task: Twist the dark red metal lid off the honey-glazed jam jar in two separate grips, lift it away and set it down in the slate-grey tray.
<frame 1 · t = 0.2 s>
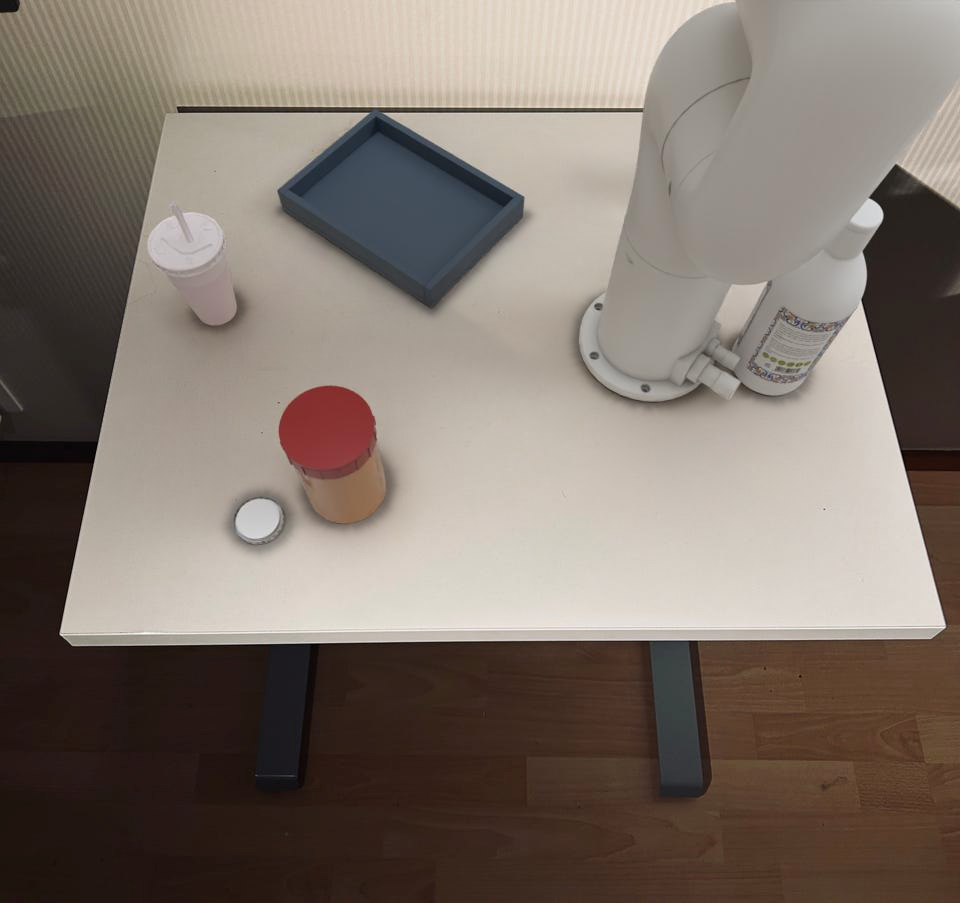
tray: (402, 213, 81), on the table
jar: (347, 487, 68), on the table
smoothie: (217, 310, 76), on the table
white grey disc: (260, 522, 66), on the table
bath foam: (766, 366, 74), on the table
lid: (327, 428, 58), point 11 cm above the table, screwed on, not yet turned
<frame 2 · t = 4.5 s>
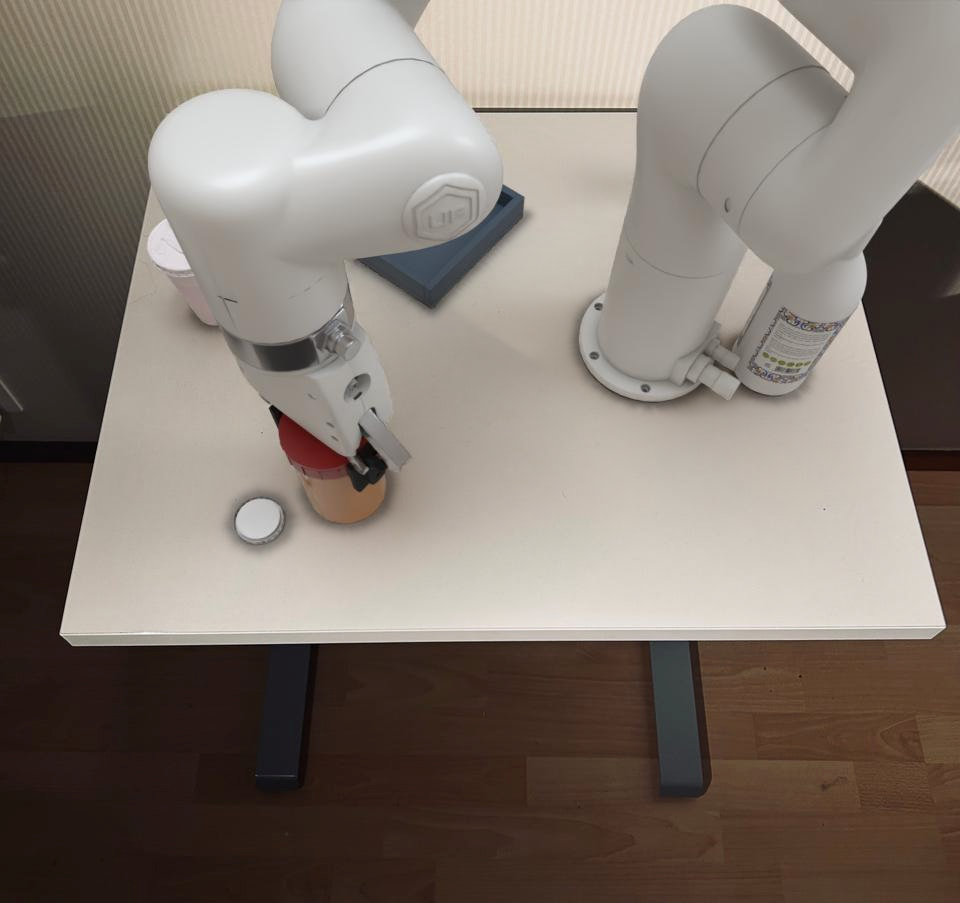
hand: (333, 447, 61), 8 cm above the table, tool pointing down, fingers closed on lid, 6 cm apart
lid: (326, 428, 58), point 11 cm above the table, screwed on, not yet turned, touching gripper
everything else where it was.
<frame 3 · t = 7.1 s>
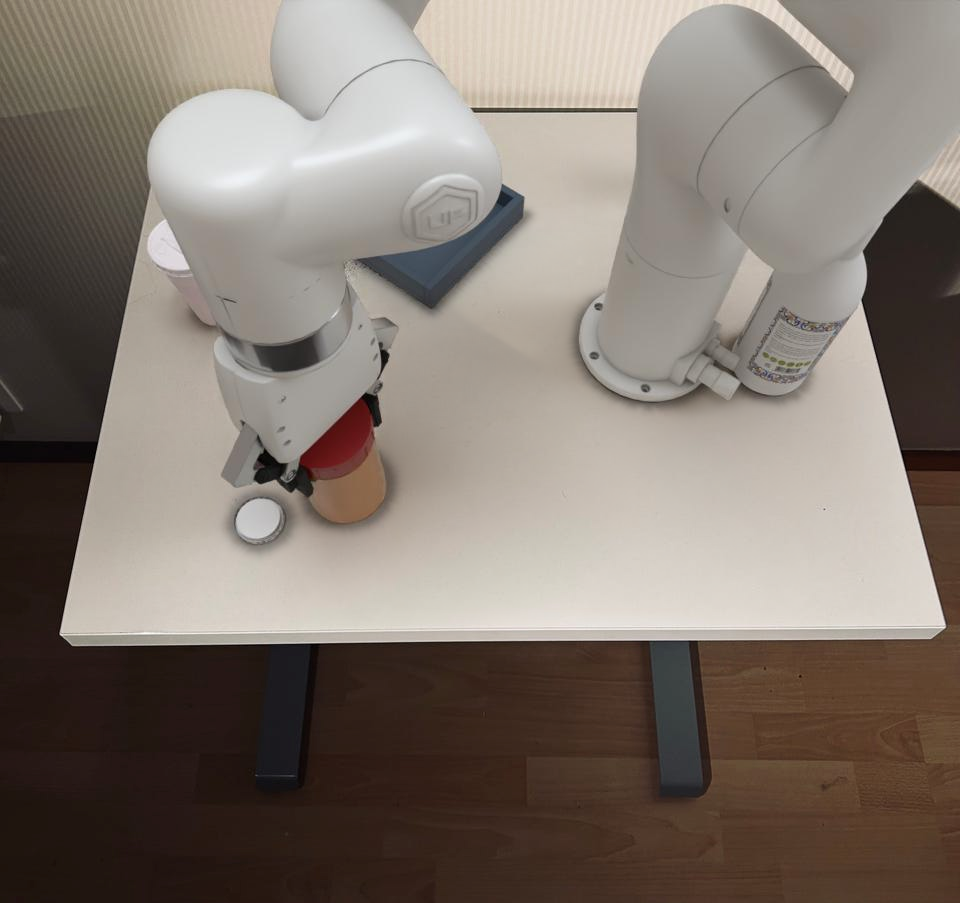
hand: (331, 448, 61), 8 cm above the table, tool pointing down, fingers closed on lid, 6 cm apart
jar: (347, 487, 68), on the table, touching gripper
lid: (324, 427, 58), point 11 cm above the table, turned 89° so far, risen 0.2 cm, still on its thread, touching gripper
everything else where it was.
when the fingers open (7 cm above the table, at t = 8.0 s): lid stays where it is, point 11 cm above the table.
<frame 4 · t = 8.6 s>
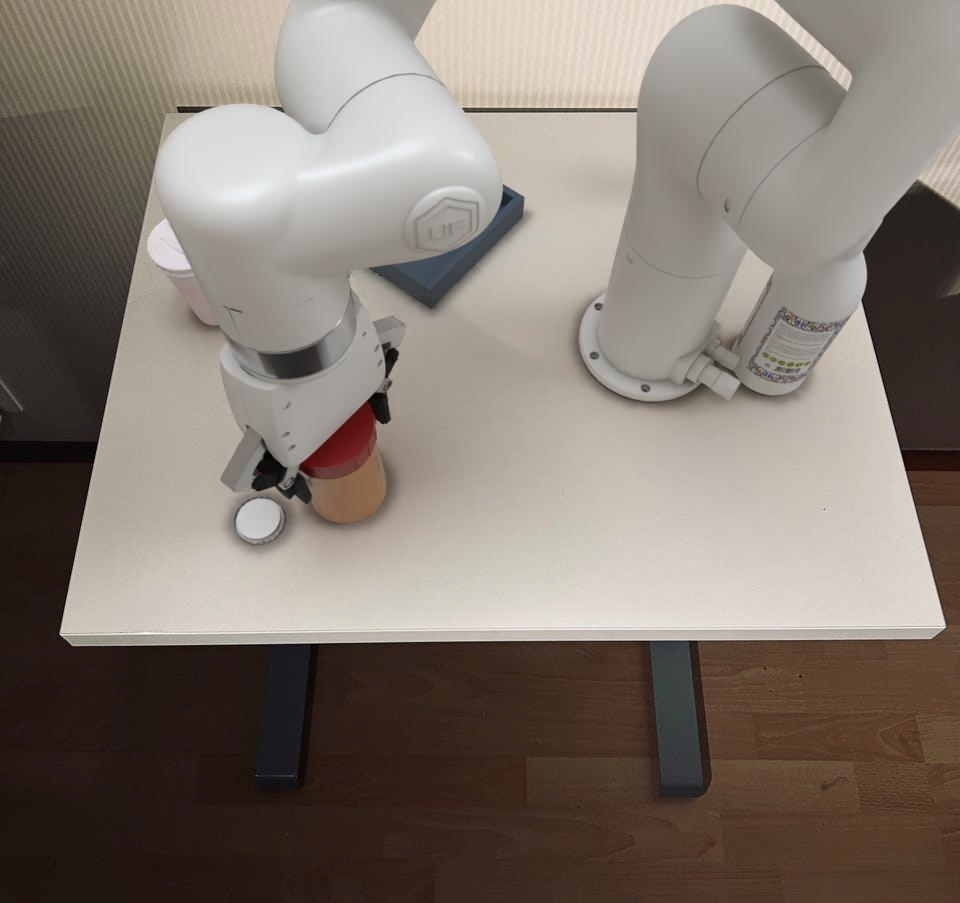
hand: (335, 450, 61), 7 cm above the table, tool pointing down, fingers open, 8 cm apart
jar: (347, 487, 68), on the table
lid: (327, 426, 58), point 11 cm above the table, turned 89° so far, risen 0.2 cm, still on its thread
everything else where it was.
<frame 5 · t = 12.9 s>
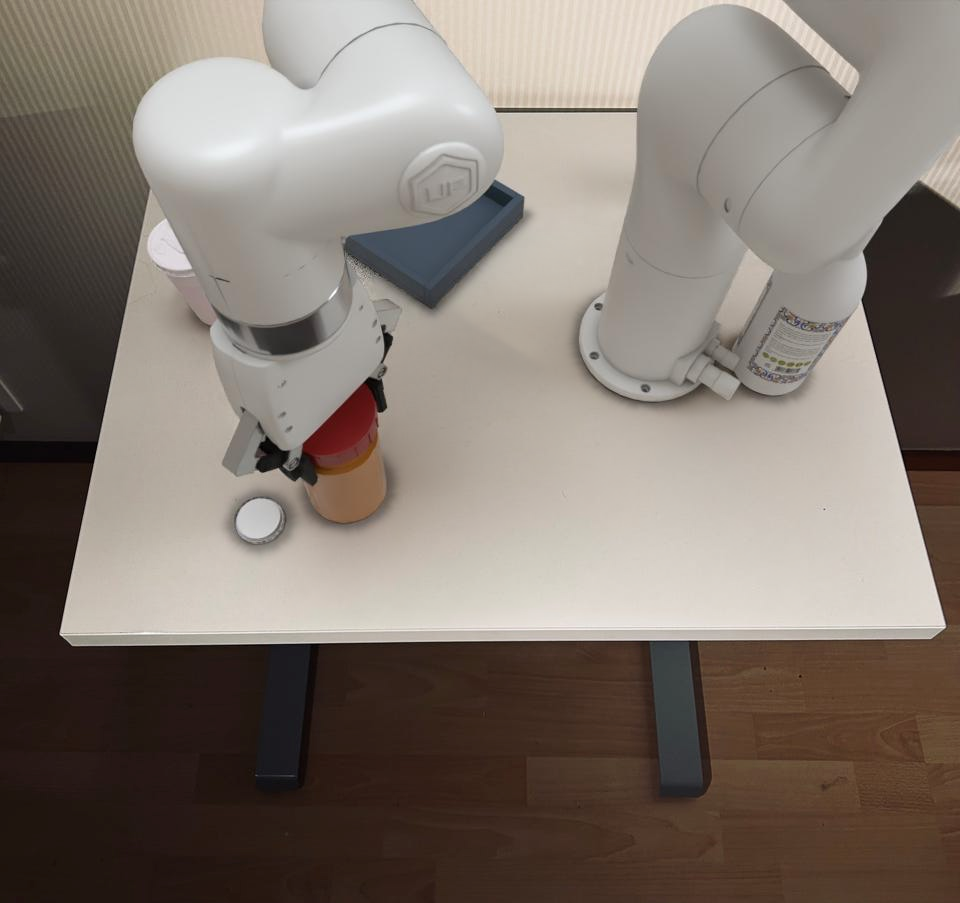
hand: (335, 435, 59), 9 cm above the table, tool pointing down, fingers closed on lid, 6 cm apart
jar: (347, 486, 67), on the table, touching gripper
lid: (327, 413, 56), point 13 cm above the table, off its thread, touching gripper
everything else where it was.
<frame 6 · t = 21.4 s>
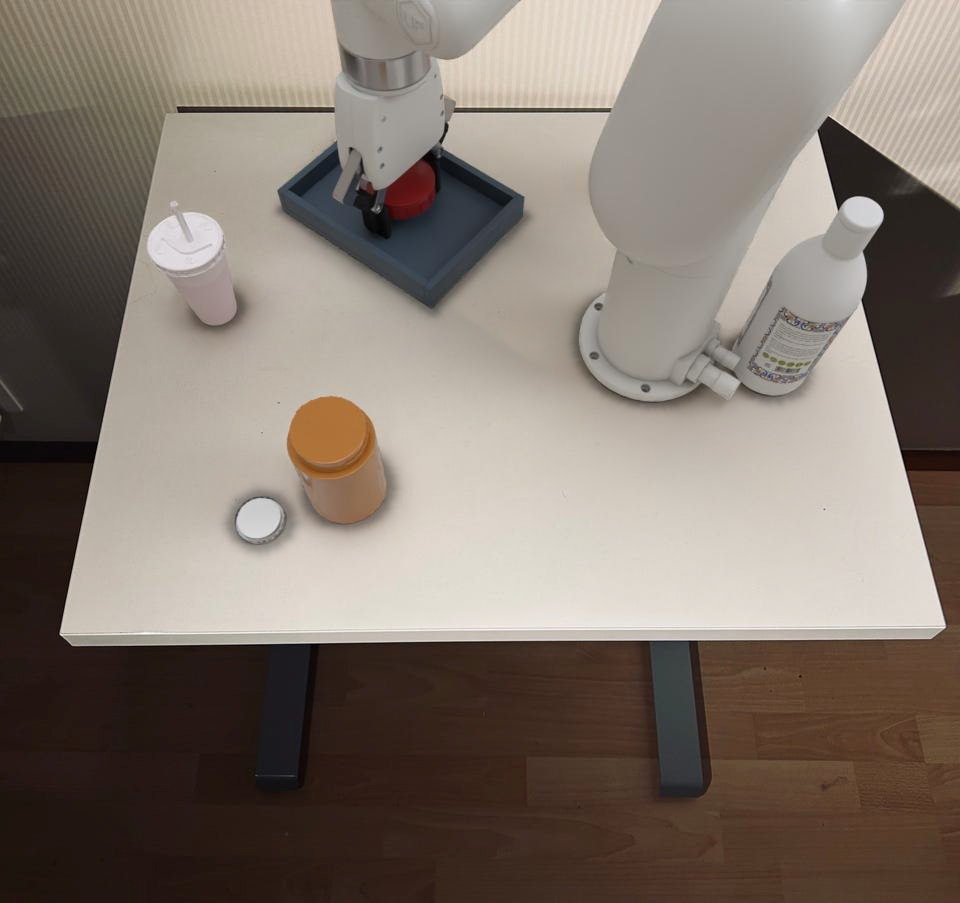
hand: (402, 206, 80), 1 cm above the table, tool pointing down, fingers closed on lid, 6 cm apart
jar: (347, 487, 68), on the table
lid: (399, 181, 77), point 4 cm above the table, off its thread, touching gripper
everything else where it was.
when the fingers open (2 cm above the table, at t = 31.6 s): lid drops 3 cm, resting on tray.
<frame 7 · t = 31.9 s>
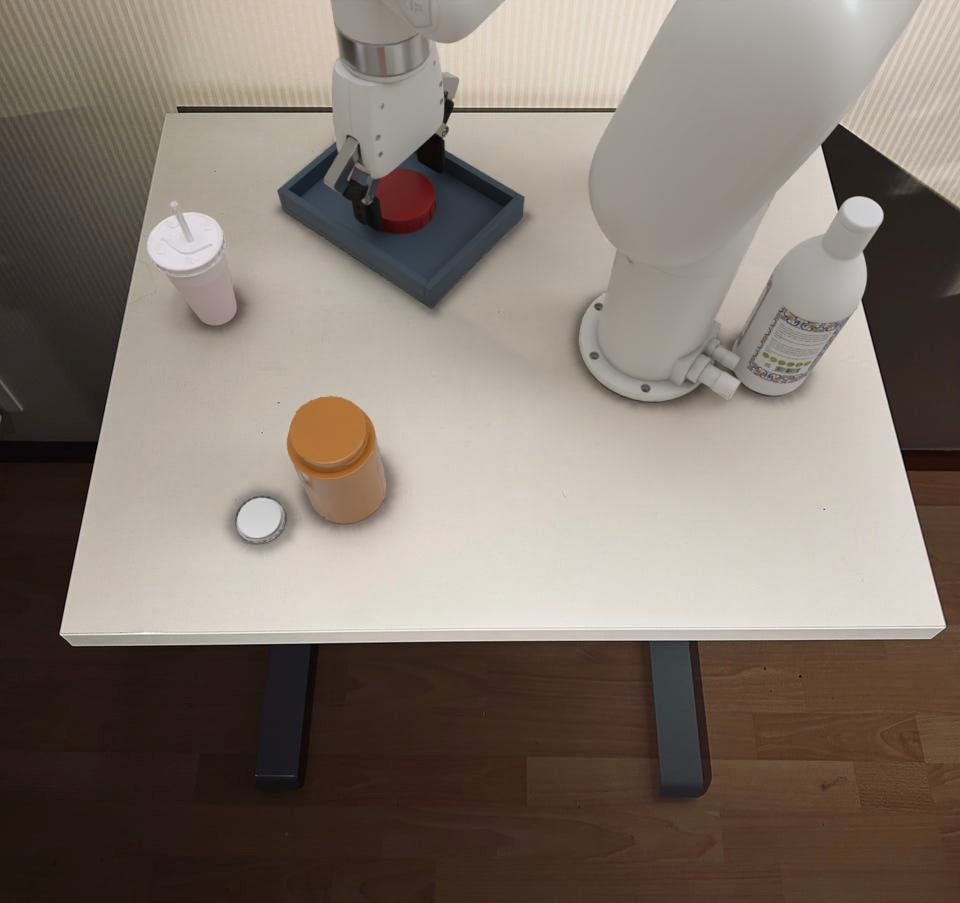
hand: (400, 193, 79), 3 cm above the table, tool pointing down, fingers open, 9 cm apart
lid: (400, 196, 79), point 2 cm above the table, off its thread, touching tray
everything else where it was.
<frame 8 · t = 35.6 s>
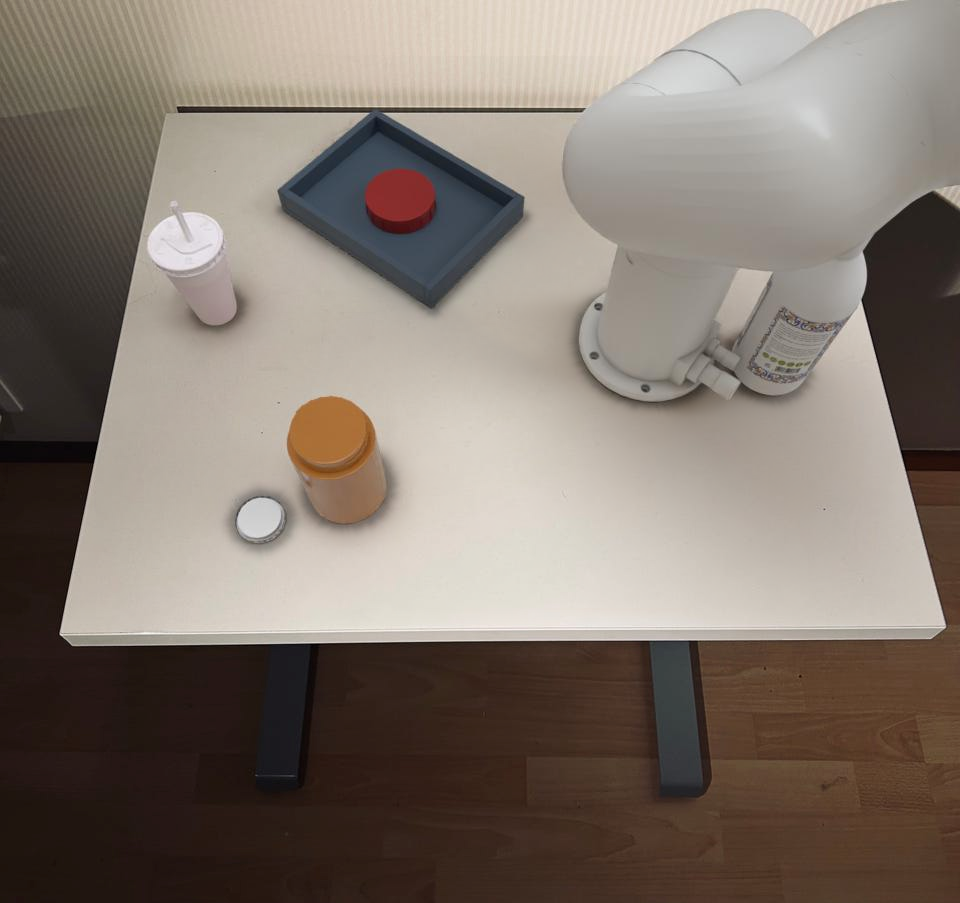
nothing on the table moved.
at the end: lid inside the target area in the tray (0.1 cm from its centre), point 2.3 cm above the tray's base; the gripper is holding nothing; lid moved 31.7 cm from its start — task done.
